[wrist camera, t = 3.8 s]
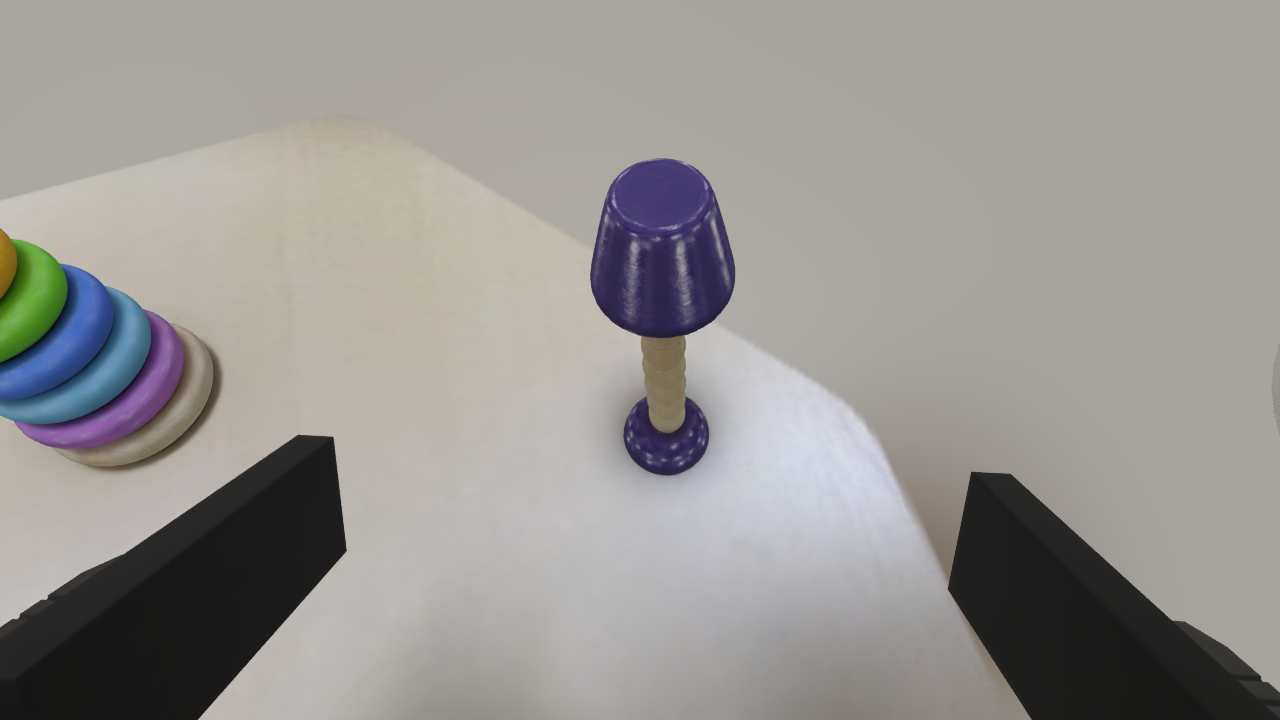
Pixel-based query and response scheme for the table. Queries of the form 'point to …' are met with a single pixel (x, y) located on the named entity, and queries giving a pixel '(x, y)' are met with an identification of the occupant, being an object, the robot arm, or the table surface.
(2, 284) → the stacking toy
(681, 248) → the toy lamp
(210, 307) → the table surface
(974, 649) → the table surface
